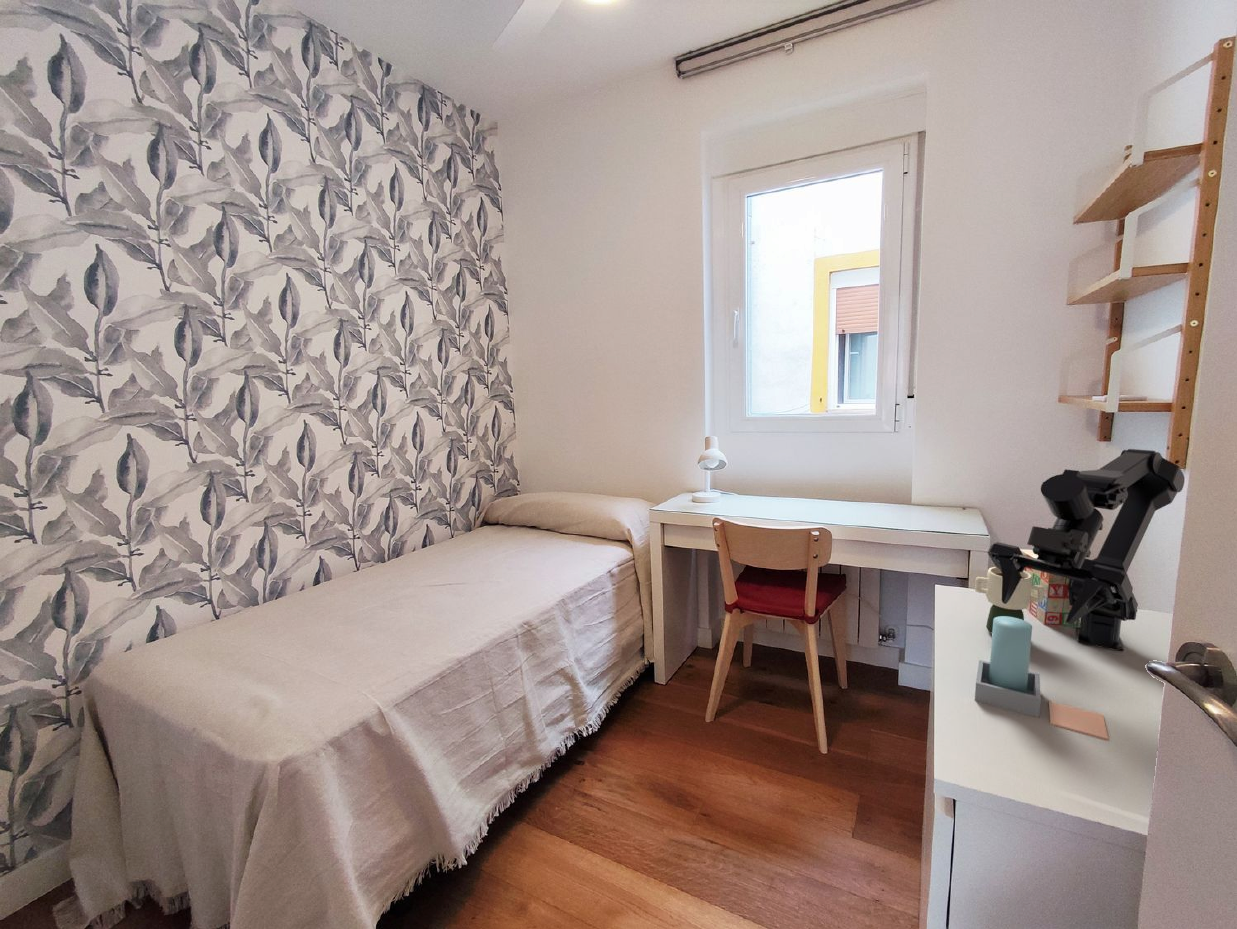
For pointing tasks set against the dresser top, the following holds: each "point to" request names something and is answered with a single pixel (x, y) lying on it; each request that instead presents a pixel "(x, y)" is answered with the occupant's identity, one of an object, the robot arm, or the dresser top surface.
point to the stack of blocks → (1049, 596)
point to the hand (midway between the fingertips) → (1034, 612)
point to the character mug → (1016, 601)
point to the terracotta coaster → (1077, 720)
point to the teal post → (1010, 653)
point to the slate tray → (1008, 692)
